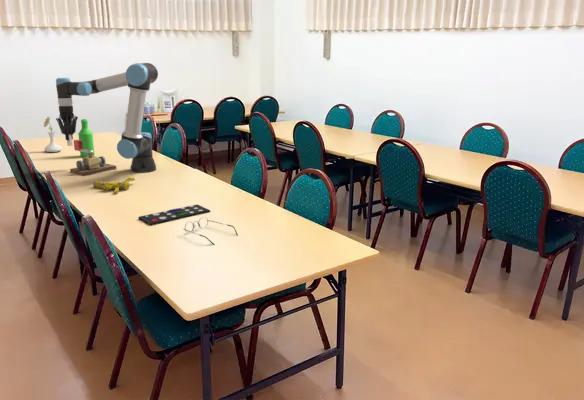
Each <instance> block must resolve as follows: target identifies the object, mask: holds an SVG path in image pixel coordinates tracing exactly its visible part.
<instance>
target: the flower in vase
mask: <svg viewBox="0 0 584 400" xmlns="http://www.w3.org/2000/svg"><path fill="white" fill-rule="evenodd" d="M50 121H51V117H50V116H47V117H46V118H45V121H44V122H43V127H44V128H46V127H47V126H48V125H49V126H48V130H50V131H46V132H47V134H48V135H49V139H50V142H49V143H48V144H47V145H46V146H45V148H44V151H45V152H48V153H57V152H61V151H62V150H63V147H62V146H61V145H59V144H58V143H56V142H55V133H56V131H53V127H52V124H51V123H50Z"/></svg>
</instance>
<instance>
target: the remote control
mask: <svg viewBox="0 0 584 400" xmlns="http://www.w3.org/2000/svg"><path fill="white" fill-rule="evenodd" d="M207 213H211V209H208V208H206V207H204V206H202V205H199V204H191V205H187V206H183V207H182V206H181V207H178V208H173V209H169V210H168V209H167V210H164V211H163V210H162V211H160V212H155V213H150V214H145V215H140V216H138V217H137V218H138V220H140V221H141V222H143V223H145V224H146V225H149V227H150V226H154V225H159V224H163V223H164V224H165V223H168V222H172V221H176V220H180V219H186V218H190V217H194V216H199V215H203V214H207Z"/></svg>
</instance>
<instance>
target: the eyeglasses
mask: <svg viewBox="0 0 584 400" xmlns="http://www.w3.org/2000/svg"><path fill="white" fill-rule="evenodd" d="M202 218H205V219H206V221H207V223H206V225H205V226H204V228H206V227H208V223H209V222H212V223H217V224H221V225H226V226H229V227H230V228H231V227H232V228H233V229H234V232H235V234H236V236H237V237H238V236H239V235H238V233H237V229H236V228H235V226H233V225H231V224H224V223H222V222H219V221H214V220H210V219H209V220H208V218H207V217H205V216H202V217H200V218H199V219H198V220H195V221H193V222H192V221H190V223H191V224H192V229H191V231H190V230H188V229H186V228H187V227H186V226H187V225H188V223H189V221H187V222H186V223H185V224H184V228H183V230H184V231H185V232H186V233H188V234H189V233H192V234H195V235H198V236H200V237H203V238H205V239H207V241H208V242H210V244H212V245H215V243H214V242H213V241H211V240H210V239H209V238H208V237H207V236H205V235H203V234H198V233H196V232H193V231H194V229H195V228H196V224H195V222H197V226H198V227H201V224H200V221H201V220H202Z"/></svg>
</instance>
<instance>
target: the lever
mask: <svg viewBox="0 0 584 400" xmlns="http://www.w3.org/2000/svg"><path fill="white" fill-rule="evenodd" d="M73 147H74V151H76V152H77V151H78V152H80V151H81V152H86V153H87V154H93V150H86V149H83V143H82V140H79V139H73Z"/></svg>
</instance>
